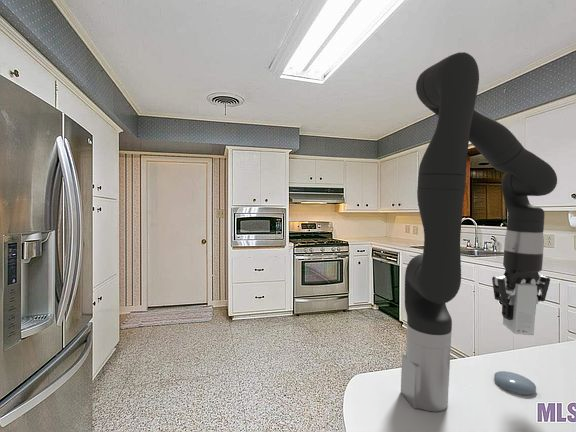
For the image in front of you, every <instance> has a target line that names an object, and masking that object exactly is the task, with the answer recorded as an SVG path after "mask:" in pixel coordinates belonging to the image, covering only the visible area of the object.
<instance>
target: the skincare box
mask: <svg viewBox="0 0 576 432" xmlns="http://www.w3.org/2000/svg"><path fill="white" fill-rule="evenodd" d="M515 289H516V296H515V299H514V304H513V305H514V310H513V320H508V319H506V318H504V317H503V316H502V319H503V320H502V325H504V326H505V327H506V328H507V329H508V330H510V332H512V333H513V334H515V335H525V336H534V335H535V320H536V312H535V311H536V310H537V309H536V308H537V304H536V295H537V286H536V285H534V284H529V283H525V284H515ZM515 289H514V290H515ZM514 290H511V289H510V291H511V292H513V291H514ZM509 298H510V295H509V297H508V299H509ZM535 309H536V310H535Z"/></svg>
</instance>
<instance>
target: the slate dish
mask: <svg viewBox="0 0 576 432" xmlns="http://www.w3.org/2000/svg"><path fill="white" fill-rule="evenodd" d="M493 377H494V378H493V381H494V382H496V383H495V384H496V385H497V386H498V387H500V388H501V389H502V390H504V391H507V392H509V393H512V394H515V395H518V396H522V397H523V396H525V397H528V396H529V397H530V396H534V395H535V394H536V391H537V387H536V386H537V385H536V384H535V383H534V382H533V381H532V380H531V379H529V378H527V377H526V376H523V375H521V374H518V373H514V372H511V371H504V370H503V371H502V370H501V371H497V372H495V373H494V375H493Z"/></svg>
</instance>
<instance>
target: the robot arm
mask: <svg viewBox="0 0 576 432" xmlns="http://www.w3.org/2000/svg"><path fill="white" fill-rule="evenodd" d="M479 71H480V70H479V65H478V63H477V60H476V59H475V58H474V56H473V55H471V54H470V53H468V52H465V51H464V52H462V51H460V52H456V53H454V54H451V55H448V56H447V57H445V58H443V59H442V60H439V61H438V62H437V63H434V64H433V65H431V66H429V67H427V68H426V69H425V70H424V71H422V72H421V73H420V74H419V76H418V77H417V79H416V83H415V91H416V95H417V98H418V99H419V101H420V102H421V103H422V104H423V105H424V106H425V107H426V108H427V109H429V110H430V111H431V112H432V113H434V114H435V115H436V116H438V119H437V124H436V127H435V130H434V133H433V135H432V137H431V140H430V142H429V143H428V145H427V148H426V150H425V152H424V154H423V156H422V159H421V162H420V163H419V166H418V167H419V168H418V175H417V176H418V177H417V186H416V188H417V190H416V194H417V195H416V197H417V205H418V210H419V216H420V218H421V223H422V227H423V235H424V236H423V238H424V241H423V251H422V253H421V254H418V255H415V256H414V257H412V258H411V259H410V261H409V262H408V264H407V266H406V268H405V275H404V309H405V313H406V319H407V320H406V323H407V324H406V339H405V340H406V342H405V352H404V353H403V352H402V354H401V371H400V372H401V375H400V377H401V378H400V393H401V394H402V395H403V396H404V398H405V399H406V400H407V402H408V403H409V404H410V405H411V406H412V408H413V409H420V410H424V411H426V412H427V411H428V412H435V413H436V412H441V411H444V410H445V409H447V407H448V405H449V389H450V369H451V368H450V367H451V364H450V363H451V351H452V350H451V346H452V345H451V344H452V329H453V328H452V326H453V321H452V316H451V315H450V313H449V312H450V311H448V309H447V303H449V302H451V301H452V300H454V298H455V297H456V296H457V294H458V292H459V290H460V287H461V283H462V263H461V262H462V261H461V260H462V259H461V232H462V223H463V222H462V221H463V209H464V199H465V198H464V197H465V193H466V181H467V164H468V163H467V160H468V153H469V143H470V144H472V145H473V147H474V148H475V149H476V150H477V151H478V152H479V153H480V154H481V155H482V156H483V157H484V158H485V161H487V162H488V163H489V165H491V166H492V168H494V169H495V170H496V171H498V172H500V173H504V174H503V175H502V176H503V177H502V179H501V191H502V196H503V200H504V204H505V207H506V211H507V218H506V219H507V220H506V230H505V231H506V233H505V236H504V245H503V247H504V249H503V262H502V263H503V264H502V266H503V267H504V269H505V271H504V273H503V275H502V276H495V275H494V276H492V277H491V280H492V281H491V282H492V289H493V294H494V295H493V296H494V299H495V300H496V301H499V302H500V303H501V304H502V305H501V315H502V318H503V317H504V318H506V319H508V320H513V310H514V305H513V304H514V299H515V296H516V289H515V284H525V283H529V284H534V285H536V286H537V295H536V305H538V304H539V302H541V303H542V302H545V300H546V297H547V294H548V293H547V292H548V291H549V286H550V282H551V278H550V277H548V276H543V275H540V274H539V273H540V272H541V271H542V270H543V259H544V248H545V245H544V244H545V238H544V227H545V210H544V209H543V208H542V207H539V206H536V205H533V204H531V203H530V200H529V198H528V197H529V196H530V197H540V196H547V195H549V194H551V193H552V192H553V191H554V190H555V189H556V187H557V185H558V175H557V173H556V171H555V170H554V168H553V167H552V165H550V164H549V163H548V162H547V161H545V160H544V159H542V158H540V157H539V156H538V155H536V154H534V153H533V152H531V151H529V150H528V149H526V148H525V146H523V145H522V143H521V142H520V140H518V138H517V137H516V136H515V135H514V133H513V132H512V131H510V130H509V128H507V127H506V126H505V125H503V124H501V123H500V122H498V121H497V120H495V119H493V118H490V117H489V116H488V115H485V114H483V113H481V112H480V111H478V110H476V109H475V107H476V101H477V96H478V92H479V91H478V90H479V84H480V72H479ZM510 289H511V290H514V289H515V290H514V291H513V292H511V291H510ZM509 295H510V298H509V299H508V297H509ZM536 311H537V309H535V313H537V312H536Z"/></svg>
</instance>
